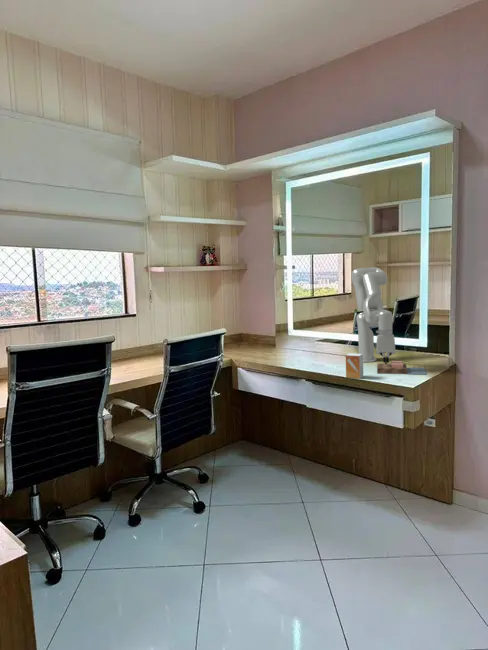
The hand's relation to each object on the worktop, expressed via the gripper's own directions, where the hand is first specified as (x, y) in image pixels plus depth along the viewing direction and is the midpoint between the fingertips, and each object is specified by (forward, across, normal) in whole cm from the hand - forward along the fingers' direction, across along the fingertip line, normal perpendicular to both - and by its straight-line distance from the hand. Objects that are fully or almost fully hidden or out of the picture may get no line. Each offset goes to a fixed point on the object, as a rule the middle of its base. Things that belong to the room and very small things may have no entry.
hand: (386, 363), depth 253 cm
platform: (+4, +3, 0) cm, 5 cm away
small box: (+5, -17, -16) cm, 23 cm away
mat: (+4, +16, 0) cm, 17 cm away
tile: (0, +6, 0) cm, 6 cm away
